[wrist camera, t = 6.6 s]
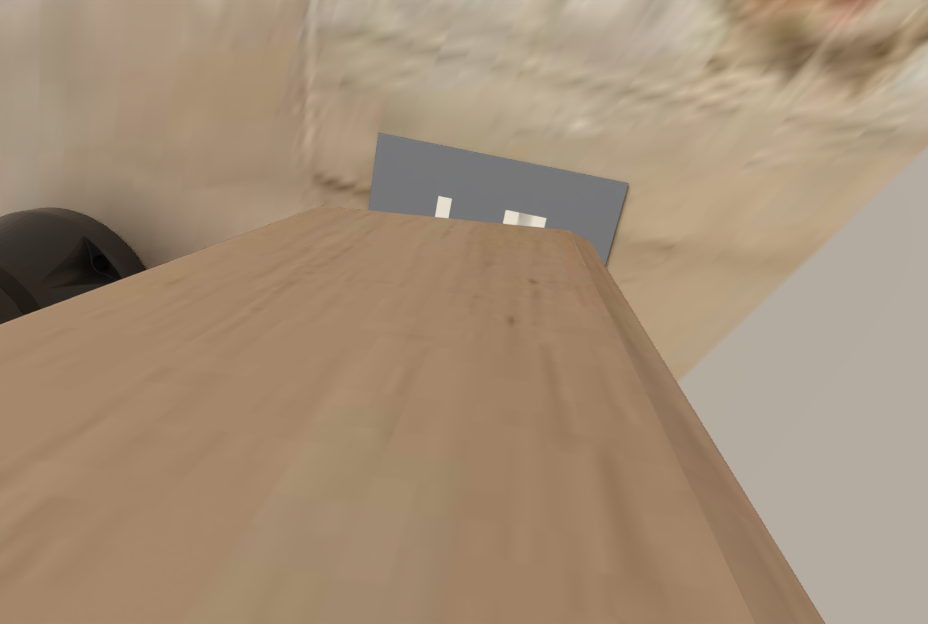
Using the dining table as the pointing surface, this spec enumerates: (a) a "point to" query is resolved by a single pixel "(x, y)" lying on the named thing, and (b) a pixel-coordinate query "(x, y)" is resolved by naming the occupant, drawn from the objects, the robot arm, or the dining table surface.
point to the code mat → (492, 190)
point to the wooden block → (368, 443)
